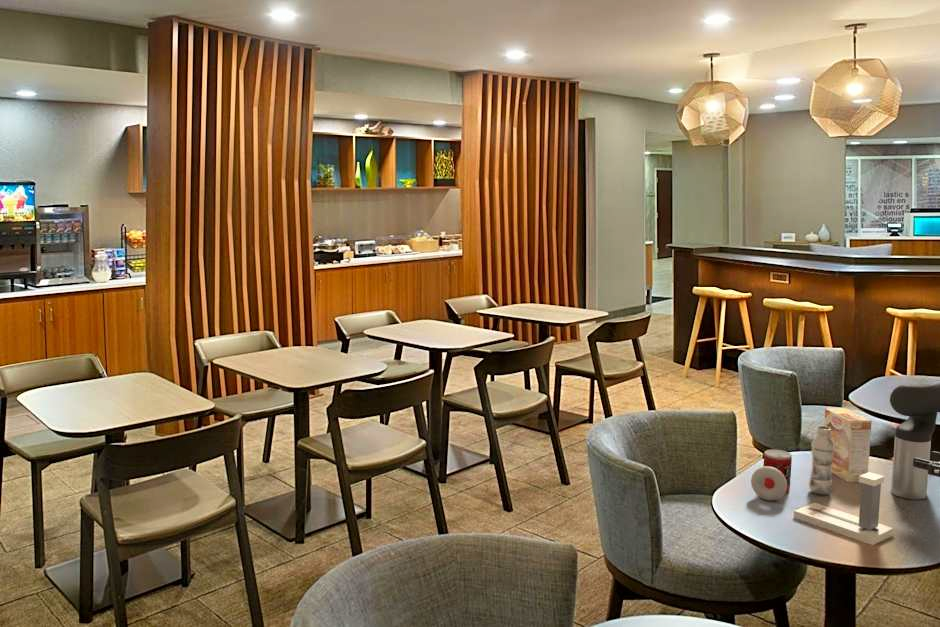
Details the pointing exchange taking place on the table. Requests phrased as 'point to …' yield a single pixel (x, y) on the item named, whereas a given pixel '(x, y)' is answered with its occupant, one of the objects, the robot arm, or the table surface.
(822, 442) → the plastic bottle
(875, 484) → the slider knob
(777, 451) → the canned food
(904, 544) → the table surface
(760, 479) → the donut
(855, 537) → the fader deck
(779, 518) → the table surface
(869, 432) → the coffeecake box
